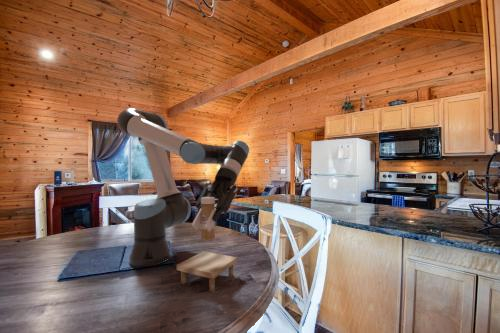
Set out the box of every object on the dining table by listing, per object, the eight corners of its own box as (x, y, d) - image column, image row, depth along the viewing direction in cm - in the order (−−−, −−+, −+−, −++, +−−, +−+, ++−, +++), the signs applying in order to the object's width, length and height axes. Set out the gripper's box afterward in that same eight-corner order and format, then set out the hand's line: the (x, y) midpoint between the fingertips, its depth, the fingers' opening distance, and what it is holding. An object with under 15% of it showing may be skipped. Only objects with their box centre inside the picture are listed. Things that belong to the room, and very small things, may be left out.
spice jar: (198, 239, 81) (198, 197, 81) (205, 235, 85) (205, 196, 85) (210, 241, 79) (210, 198, 79) (217, 237, 83) (217, 196, 83)
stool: (176, 283, 79) (176, 265, 79) (203, 267, 91) (203, 251, 91) (213, 294, 73) (213, 273, 73) (237, 275, 85) (237, 257, 85)
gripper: (252, 181, 92) (228, 237, 77) (213, 179, 99) (185, 231, 85) (245, 166, 87) (219, 224, 72) (204, 166, 95) (173, 218, 80)
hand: (200, 228), depth 79 cm, fingers closed on spice jar, 4 cm apart
